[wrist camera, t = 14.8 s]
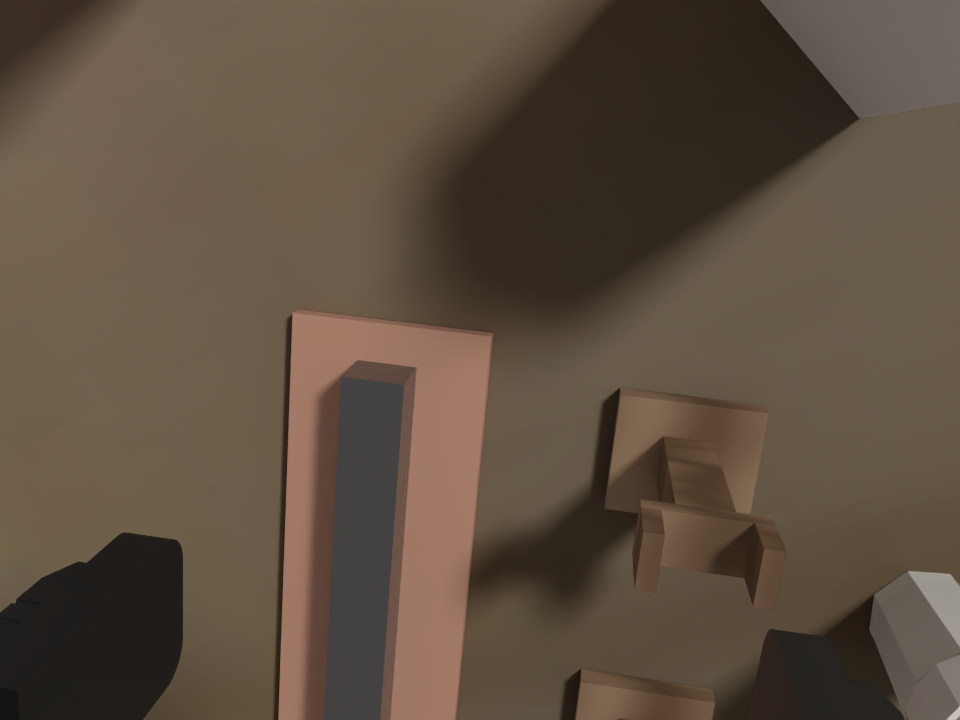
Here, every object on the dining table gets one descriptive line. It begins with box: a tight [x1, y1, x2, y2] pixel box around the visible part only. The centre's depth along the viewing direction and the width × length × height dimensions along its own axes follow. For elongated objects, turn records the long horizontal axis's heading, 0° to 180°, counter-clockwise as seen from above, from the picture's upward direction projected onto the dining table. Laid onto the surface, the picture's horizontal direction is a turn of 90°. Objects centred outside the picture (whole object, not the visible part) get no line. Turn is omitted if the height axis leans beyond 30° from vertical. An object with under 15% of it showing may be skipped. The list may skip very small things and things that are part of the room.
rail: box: [324, 360, 417, 720], centre depth 48 cm, size 3×24×3 cm, turn 175°
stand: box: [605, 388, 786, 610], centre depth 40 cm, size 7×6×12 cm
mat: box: [278, 310, 493, 720], centre depth 49 cm, size 10×28×1 cm, turn 175°
